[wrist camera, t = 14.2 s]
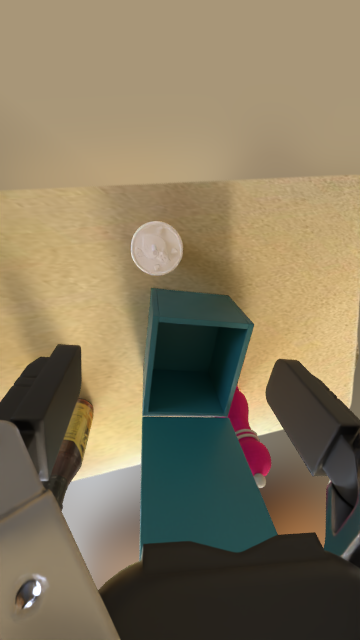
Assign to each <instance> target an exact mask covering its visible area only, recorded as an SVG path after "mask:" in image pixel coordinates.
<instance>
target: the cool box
mask: <svg viewBox="0 0 360 640" xmlns="http://www.w3.org/2000/svg"><path fill="white" fill-rule="evenodd" d="M253 327H254V324H253V322H252V321H251V320H250V319H249V318H248V317H247V316H246V315H245V314H244V312H243V311H242V310H241V309H240V308H239V307H238V306H237V305H236V304H235V302H234V301H233V300H232V299H231V298H230V297H229V296H228V295H218V294H208V293H198V292H188V291H177V290H167V289H157V288H151V297H150V307H149V317H148V327H147V338H146V348H145V358H144V368H143V410H142V416H187V417H228V414H229V410H230V407H231V403H232V400H233V396H234V393H235V389H236V386H237V383H238V379H239V376H240V372H241V369H242V365H243V362H244V358H245V355H246V351H247V348H248V344H249V341H250V337H251V334H252V331H253Z"/></svg>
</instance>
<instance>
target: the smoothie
mask: <svg viewBox="0 0 360 640" xmlns="http://www.w3.org/2000/svg"><path fill="white" fill-rule="evenodd" d="M131 254H132V258H133V260H134V262H135V264H136V265H137V266H138V267H139V268H140V269H141V270H142V271H144V272H145V273H147V274H150V275H155V276H160V275H165V274H168V273H170V272H171V271H173V270H174V269H175V268H176V267H177V266H178V264H179V263H180V261H181V259H182V255H183V243H182V240H181V237H180V235H179V234H178V232H177V231H176V230H175V229H174V228H173V227H172V226H171V225H169V224H167V223H165V222H160V221H152V222H148V223H146V224H144V225H142V226H141V227H140V228H138V230H137V231H136V232H135V233H134V235H133V238H132V240H131Z"/></svg>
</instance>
